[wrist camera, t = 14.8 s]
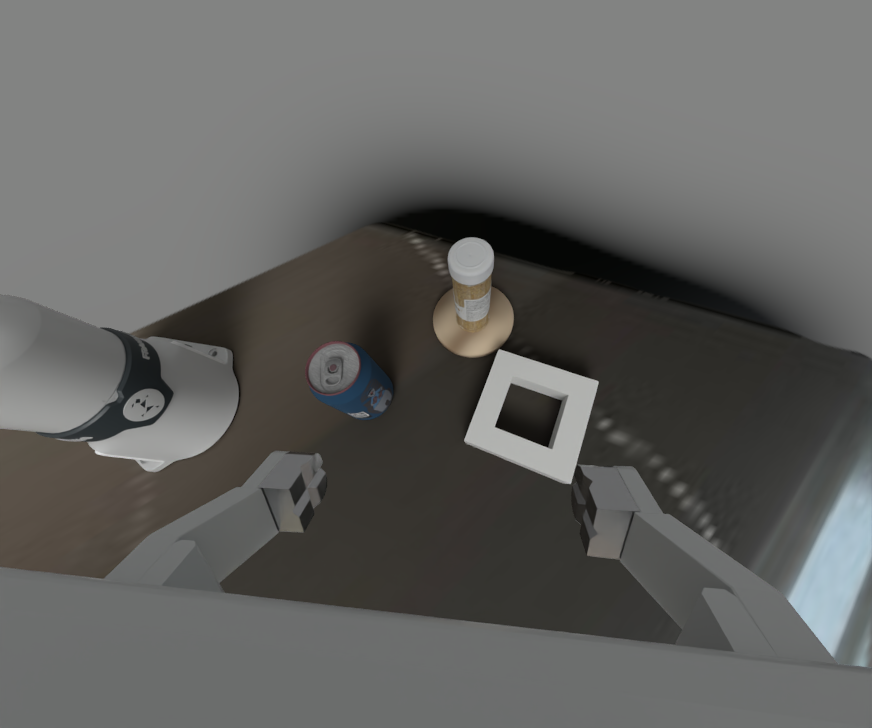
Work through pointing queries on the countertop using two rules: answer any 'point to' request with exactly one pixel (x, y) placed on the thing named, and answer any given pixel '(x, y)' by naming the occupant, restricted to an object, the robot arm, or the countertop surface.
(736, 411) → the countertop surface
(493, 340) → the disc
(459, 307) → the sprinkles bottle
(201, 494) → the countertop surface
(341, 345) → the soda can
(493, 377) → the collar
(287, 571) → the countertop surface
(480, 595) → the countertop surface
